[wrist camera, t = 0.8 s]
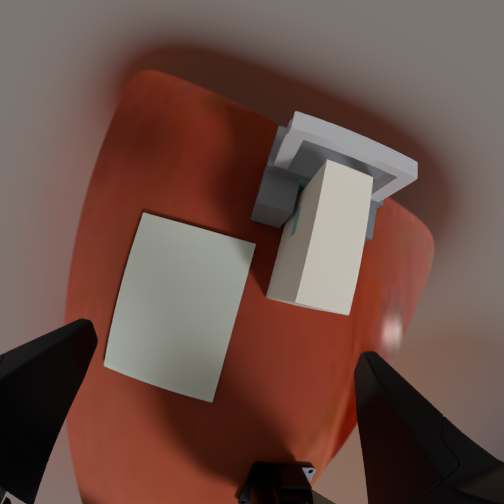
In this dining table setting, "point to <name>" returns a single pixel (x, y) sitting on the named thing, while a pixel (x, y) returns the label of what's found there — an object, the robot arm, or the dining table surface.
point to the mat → (178, 306)
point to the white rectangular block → (324, 241)
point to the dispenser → (311, 160)
